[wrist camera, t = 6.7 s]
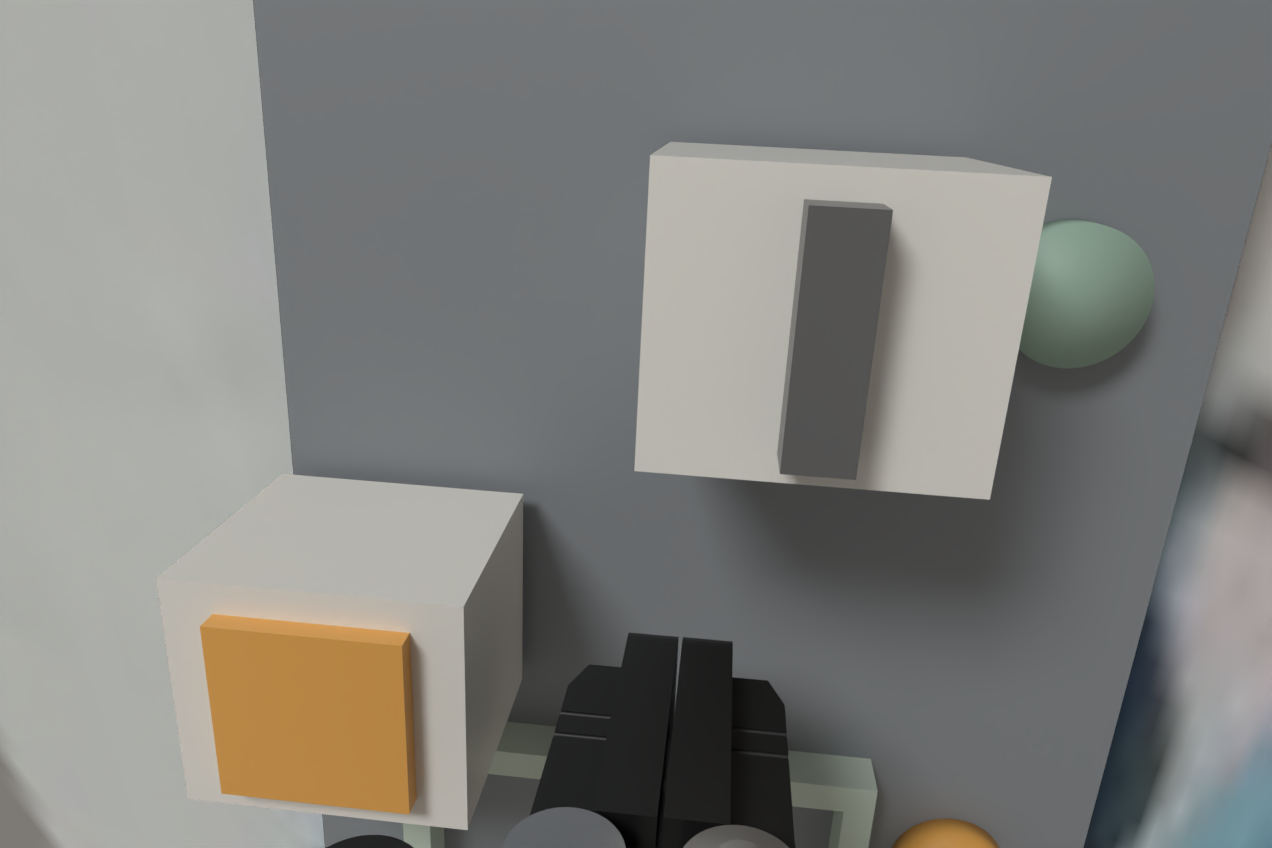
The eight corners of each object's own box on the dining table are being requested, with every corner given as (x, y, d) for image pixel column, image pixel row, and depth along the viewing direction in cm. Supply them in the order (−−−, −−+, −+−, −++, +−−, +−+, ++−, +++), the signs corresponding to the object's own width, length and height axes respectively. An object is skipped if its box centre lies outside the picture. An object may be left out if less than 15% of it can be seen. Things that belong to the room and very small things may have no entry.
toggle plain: (966, 157, 12) (1074, 181, 8) (926, 403, 14) (1004, 522, 10) (670, 141, 13) (645, 157, 9) (657, 384, 14) (628, 491, 10)
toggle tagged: (523, 493, 15) (456, 619, 11) (522, 678, 16) (461, 846, 12) (282, 473, 15) (142, 589, 11) (298, 656, 16) (176, 814, 13)
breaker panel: (1231, 4, 13) (1353, -20, 11) (983, 1031, 20) (1021, 1168, 18) (310, -33, 15) (218, -63, 12) (375, 956, 22) (325, 1074, 19)
